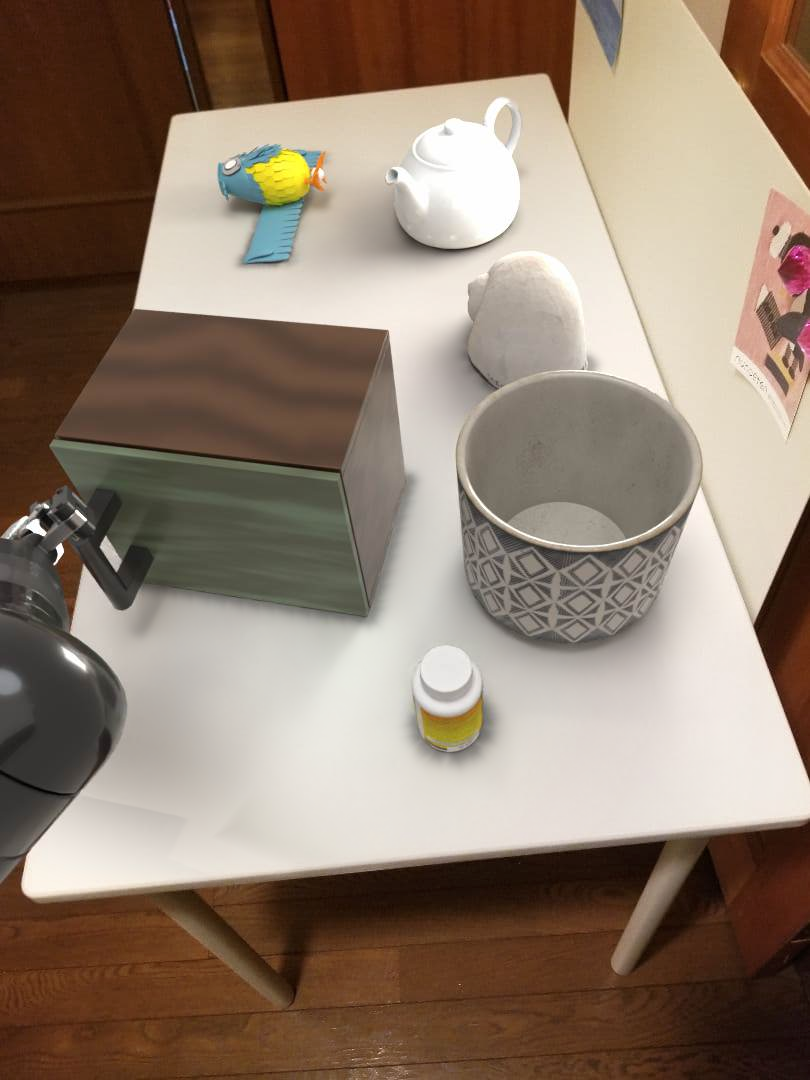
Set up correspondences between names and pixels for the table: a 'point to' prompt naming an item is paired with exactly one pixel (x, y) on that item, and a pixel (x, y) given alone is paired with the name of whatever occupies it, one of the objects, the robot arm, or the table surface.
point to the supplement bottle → (448, 698)
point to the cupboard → (257, 405)
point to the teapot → (458, 182)
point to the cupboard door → (215, 527)
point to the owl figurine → (272, 193)
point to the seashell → (525, 319)
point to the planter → (573, 501)
